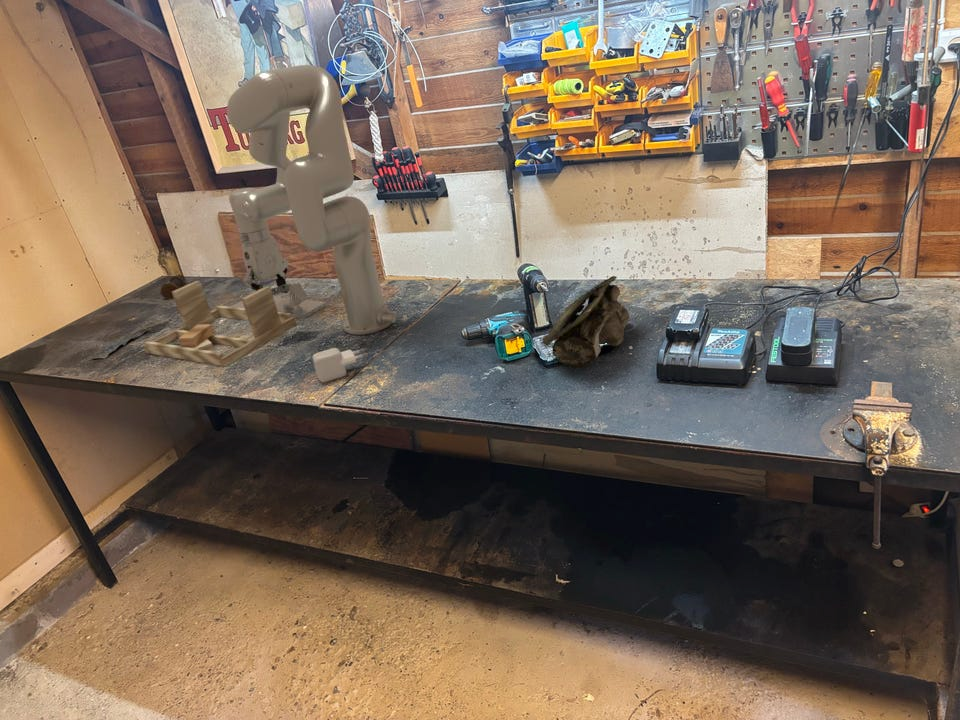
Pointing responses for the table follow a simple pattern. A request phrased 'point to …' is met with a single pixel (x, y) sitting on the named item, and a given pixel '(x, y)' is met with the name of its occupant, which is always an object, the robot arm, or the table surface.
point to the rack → (197, 312)
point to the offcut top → (196, 335)
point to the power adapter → (334, 363)
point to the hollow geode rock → (589, 326)
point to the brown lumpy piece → (172, 286)
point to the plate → (298, 311)
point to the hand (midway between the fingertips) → (274, 297)
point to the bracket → (292, 292)
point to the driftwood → (118, 343)
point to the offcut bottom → (205, 346)
